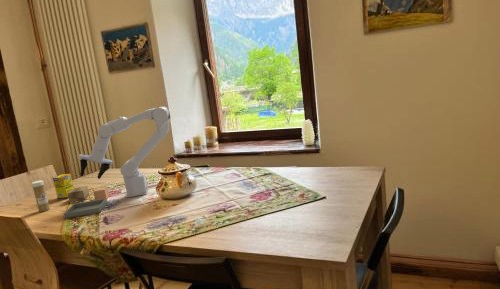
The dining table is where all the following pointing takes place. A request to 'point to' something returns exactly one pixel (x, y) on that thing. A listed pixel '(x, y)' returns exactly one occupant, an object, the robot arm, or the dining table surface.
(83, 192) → the oak block
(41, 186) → the sprinkles bottle
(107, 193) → the terracotta block
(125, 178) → the robot arm
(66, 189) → the supplement box
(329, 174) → the dining table surface
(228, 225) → the dining table surface
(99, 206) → the tray
